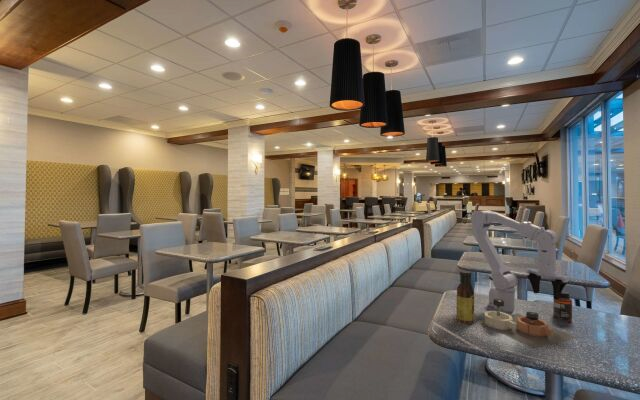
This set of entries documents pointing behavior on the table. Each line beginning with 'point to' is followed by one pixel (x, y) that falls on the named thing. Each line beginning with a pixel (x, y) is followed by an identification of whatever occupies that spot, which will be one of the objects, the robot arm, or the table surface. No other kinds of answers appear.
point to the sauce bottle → (465, 299)
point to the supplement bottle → (563, 307)
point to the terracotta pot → (533, 327)
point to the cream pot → (499, 320)
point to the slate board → (533, 340)
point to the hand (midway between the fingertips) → (546, 295)
